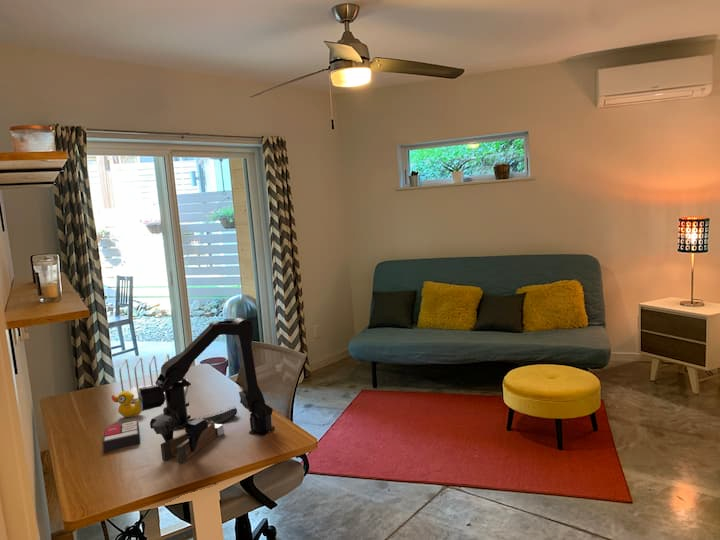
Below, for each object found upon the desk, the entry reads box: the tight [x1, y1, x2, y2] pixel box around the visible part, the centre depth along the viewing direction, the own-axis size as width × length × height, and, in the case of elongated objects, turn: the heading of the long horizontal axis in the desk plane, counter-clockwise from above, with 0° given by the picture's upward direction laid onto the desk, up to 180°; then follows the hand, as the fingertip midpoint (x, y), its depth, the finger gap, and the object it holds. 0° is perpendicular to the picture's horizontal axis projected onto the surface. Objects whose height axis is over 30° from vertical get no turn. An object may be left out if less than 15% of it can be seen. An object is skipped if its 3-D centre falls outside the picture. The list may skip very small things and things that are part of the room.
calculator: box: [102, 420, 141, 453], centre depth 181 cm, size 11×4×15 cm
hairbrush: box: [174, 405, 238, 430], centre depth 191 cm, size 8×4×25 cm
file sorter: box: [118, 353, 189, 404], centre depth 226 cm, size 25×17×16 cm
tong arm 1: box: [160, 420, 210, 461], centre depth 170 cm, size 1×19×6 cm, turn 148°
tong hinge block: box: [214, 423, 225, 438], centre depth 180 cm, size 4×3×3 cm
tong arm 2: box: [176, 421, 217, 464], centre depth 168 cm, size 1×19×6 cm, turn 162°
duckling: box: [111, 390, 143, 418], centre depth 202 cm, size 11×5×10 cm, turn 91°
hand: (181, 449), depth 165 cm, fingers open, 9 cm apart
